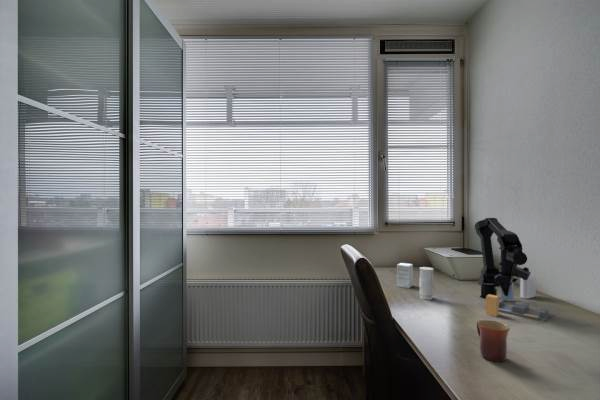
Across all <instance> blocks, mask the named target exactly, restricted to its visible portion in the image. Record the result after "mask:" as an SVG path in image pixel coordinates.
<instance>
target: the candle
mask: <svg viewBox="0 0 600 400" xmlns="http://www.w3.org/2000/svg"><path fill="white" fill-rule="evenodd" d="M418 279H419V280H418V281H419V283H418V284H419V285H418V287H419V291H418V292H419V295H420V296H419V298H420V299H422V300H429V301H430V300H433V296H434V280H435V279H434V268H433V267H428V266H422V267H421V266H420V267H419V278H418Z"/></svg>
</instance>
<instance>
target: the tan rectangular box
mask: <svg viewBox="0 0 600 400" xmlns="http://www.w3.org/2000/svg"><path fill="white" fill-rule="evenodd" d="M499 299H500V296H499V295H497V296H496V295H490V294H488V295H487V296H486V298H485V315H487V316H492V317H498V316H499V314H500V312H499Z"/></svg>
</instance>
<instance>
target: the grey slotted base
mask: <svg viewBox="0 0 600 400" xmlns="http://www.w3.org/2000/svg"><path fill="white" fill-rule="evenodd" d="M499 313H504V314H508V315H513V316H517V317H522V318H526V319H532V320H536V321H540V322H547V320H548V319H549V318H550V316H551V312H549V307H547V306H543V307H542V309H540V310H538V309H532V308H530V303H527V302H526V303H525V302H521V301H517V302H515V304H507V303H505V300H502V299H501V298H499Z"/></svg>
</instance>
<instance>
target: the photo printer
mask: <svg viewBox="0 0 600 400" xmlns="http://www.w3.org/2000/svg"><path fill="white" fill-rule="evenodd" d="M530 273H531V274H530V276H529V278H528V279H527V280H523V279H522V278H520V277H519V297H520V298H521V299H525V300H526V299H532V298H534V297H536V295H537V294H536V293H537V292H536V291H537V289H536V288H537V284H536V283H537V277H536V275H535V274H533V273H532V272H530Z"/></svg>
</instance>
